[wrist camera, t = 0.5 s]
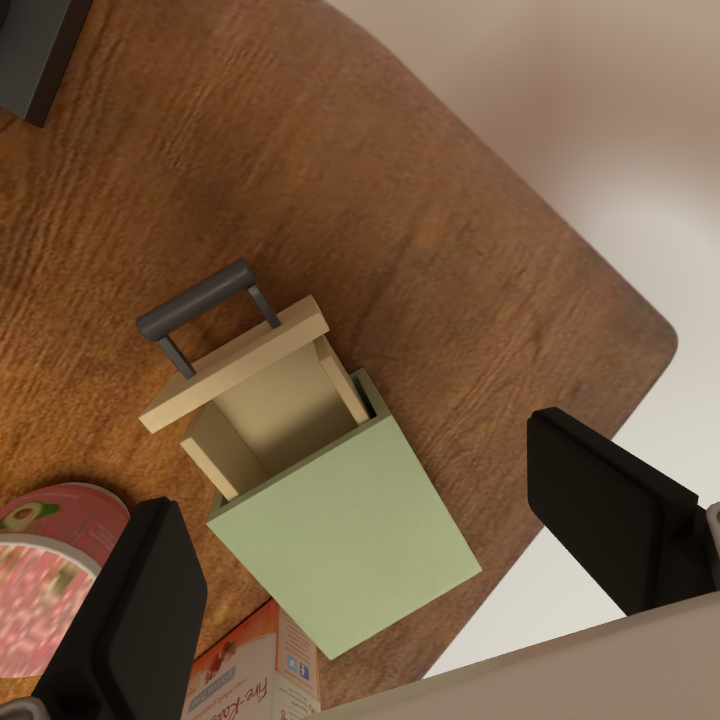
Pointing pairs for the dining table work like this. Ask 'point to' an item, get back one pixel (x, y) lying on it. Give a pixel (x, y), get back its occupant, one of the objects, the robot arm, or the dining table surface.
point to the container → (50, 567)
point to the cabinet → (348, 533)
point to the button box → (36, 52)
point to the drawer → (252, 386)
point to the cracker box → (256, 672)
